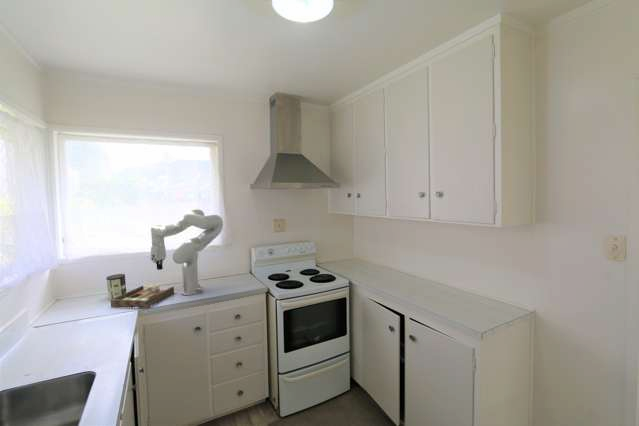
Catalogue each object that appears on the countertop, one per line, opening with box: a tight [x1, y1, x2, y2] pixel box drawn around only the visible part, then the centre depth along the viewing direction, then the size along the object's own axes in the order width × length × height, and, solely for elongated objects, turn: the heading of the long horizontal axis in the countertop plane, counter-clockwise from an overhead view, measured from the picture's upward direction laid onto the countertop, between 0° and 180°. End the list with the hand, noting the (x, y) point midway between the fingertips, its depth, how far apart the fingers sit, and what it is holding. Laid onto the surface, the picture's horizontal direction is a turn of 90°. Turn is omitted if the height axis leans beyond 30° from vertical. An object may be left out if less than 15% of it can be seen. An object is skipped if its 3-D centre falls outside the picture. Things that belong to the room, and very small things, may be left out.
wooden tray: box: [109, 285, 175, 309], centre depth 187 cm, size 24×25×4 cm
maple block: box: [146, 284, 161, 293], centre depth 195 cm, size 5×5×4 cm
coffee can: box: [105, 273, 128, 300], centre depth 194 cm, size 10×10×14 cm
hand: (159, 269), depth 202 cm, fingers closed
